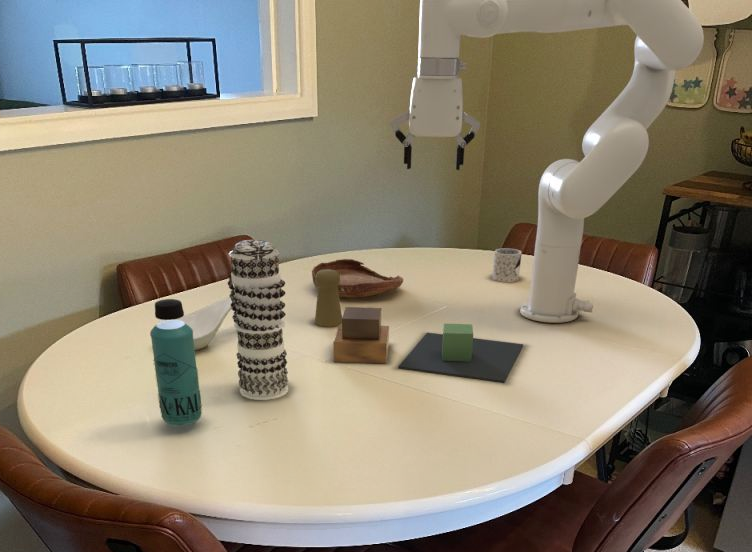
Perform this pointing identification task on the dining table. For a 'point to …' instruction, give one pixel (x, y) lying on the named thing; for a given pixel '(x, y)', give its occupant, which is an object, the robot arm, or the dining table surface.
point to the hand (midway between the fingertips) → (433, 168)
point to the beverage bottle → (175, 365)
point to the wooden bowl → (357, 278)
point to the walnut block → (361, 323)
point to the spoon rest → (207, 321)
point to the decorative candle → (258, 319)
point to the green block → (457, 342)
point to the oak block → (361, 348)
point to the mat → (485, 364)
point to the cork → (328, 299)
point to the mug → (506, 265)
